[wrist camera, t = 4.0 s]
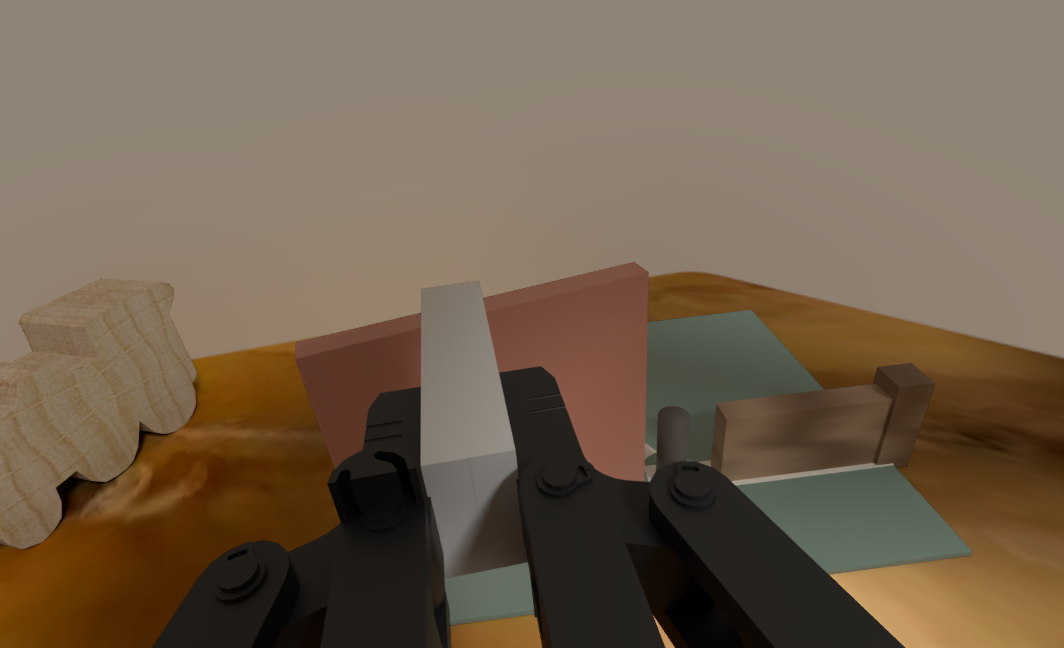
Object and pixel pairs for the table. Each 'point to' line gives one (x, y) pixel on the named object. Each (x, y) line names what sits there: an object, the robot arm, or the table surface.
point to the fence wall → (809, 428)
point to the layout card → (788, 500)
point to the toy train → (86, 396)
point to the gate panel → (510, 363)
